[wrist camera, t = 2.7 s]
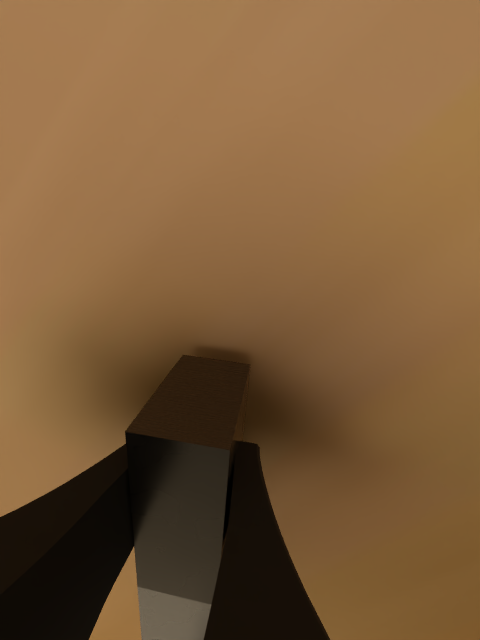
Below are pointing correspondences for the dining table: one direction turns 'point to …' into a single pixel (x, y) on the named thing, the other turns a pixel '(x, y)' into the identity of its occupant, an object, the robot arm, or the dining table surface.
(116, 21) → the dining table surface
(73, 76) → the dining table surface
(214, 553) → the tall grey pillar block
